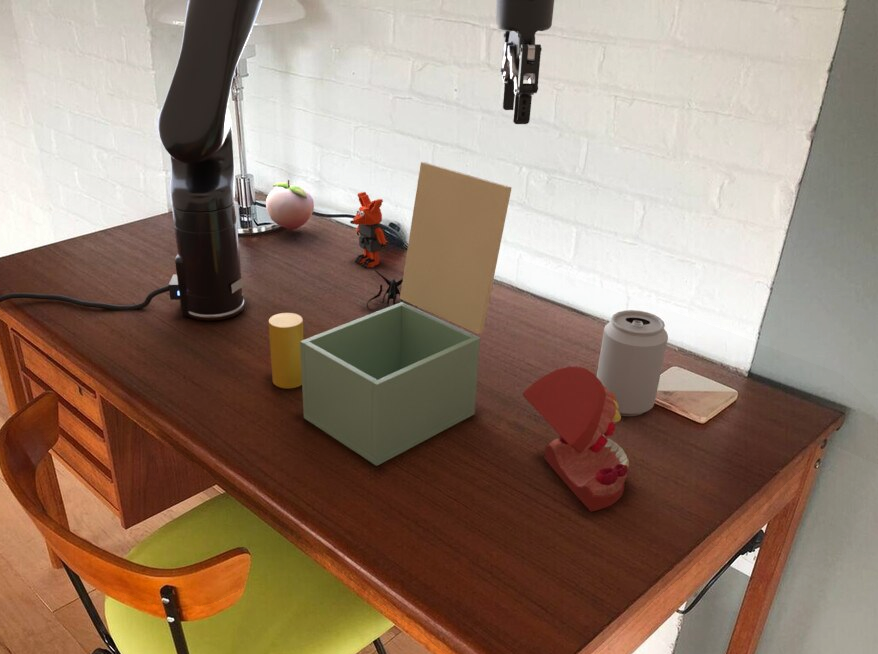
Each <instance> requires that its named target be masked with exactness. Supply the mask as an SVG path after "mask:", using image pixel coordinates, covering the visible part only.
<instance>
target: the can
mask: <svg viewBox="0 0 878 654" xmlns="http://www.w3.org/2000/svg"><path fill="white" fill-rule="evenodd" d="M610 320H611V321H609V322H607V323H606V324H605V327H603V333H602V339H601V345H600V353H599V357H598V358H599V359H598V366H597V372H596V377H597V378H598V379H599V380H600V381H601V382H602V384H603V386H605V387H606V388H607V390H608V391H610V392H611V393H613V395H614V396H615V399H616V402H617V404H618V406H619V408H618V412H619V413H620V416H621V417H637V416H641V415H643V414H644V413H646V412H648V411H650V410H652V409H653V408H654V406H655V402H656V399H657V394H658V389H659V383H660V380H661V379H660V378H661V374H662V368H663V364H664V361H665V355H666V350H667V345H668V339H669V334H668V332H667V331H666V329H665V325H666V324H665V321H664V320H663V319H662V318H661V317H660V316H658V315H656V314H654V313H650V312H648V311H644V310H643V311H642V310H634V309H630V310H629V309H628V310H621V311H618V312H616V313H613V314H612V316H611V318H610Z"/></svg>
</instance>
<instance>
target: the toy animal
mask: <svg viewBox="0 0 878 654" xmlns="http://www.w3.org/2000/svg"><path fill="white" fill-rule="evenodd" d="M357 198H358V201H359V204H360V207H359V208H358V209H356V214H355V217H353V218H352V220H350V221H349V223H350V224H351V225H356V226H357V227H356V228H355V232H356V234H357V236H358V246H359V247H360V248H362V249H363V253H362V254H358V255H357V257H355V258H356V259H354V263H356V264H358V265H359V264H361V267H363V268H374V267H375V266H377V265H379V264H380V257H379V252H381V251H382V250H383V248H384V247H385V246H386V244H387V239H386V237H385V234H384V225H383V224H382V221H383V214H382V210H381V207H382V205H383V202H384V200H383V198H378V199H374V200H371V198H370V196H369V194H367V193H366V191H361V192H358V193H357Z"/></svg>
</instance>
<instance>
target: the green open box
mask: <svg viewBox="0 0 878 654" xmlns="http://www.w3.org/2000/svg"><path fill="white" fill-rule="evenodd" d="M480 347H481V337H480V336H477V335H475V334H473V333H471V332H469V331H466V330H465V329H462V328H460V327H458V326H456V325H453V324H452V323H449V322H447V321H444V319H443V320H442V319H440V318H438V317H436V316H434V315H433V314H429V313H427V312H425V311H424V310H420V309H418V308H417V307H414V306H411V305H410V304H408V303H406V302H404V301H403V302H401V301H400V302H398V303H395V305H393V304H392V305H389V307H387V306H386V307H384V308H382V309H380V310H378V311H374V312H372V313H369V314H367V315H364V316H362V317H359V318H357V319H354V320H351V321H349V322H346V323H344V324H341V325H338V326H336V327H334V328H330V329H328V330H325V331H322V332H320V333H318V334H315V335H312V336H310V337H307V338H306V339H305V338H304V340H302V341H300V351H301V371H302V385H301V387H302V410H303V419H305V420H306V421H308V422H309V423H311V424H312V425H314V426H315V427H317V428H318V429H320V430H321V431H323V432H324V433H325V434H327V435H328V436H330V437H332V438H333V439H335V440H336V441H338V442H339V443H341V444H343V446H345V447H347V448H348V449H350V450H351V451H353V452H354V453H356V454H358V455H359V456H360V457H362V458H364V459H365V460H367V461H368V462H370V463H371V464H373V465H374V466H376V467H377V466H380V465H381V464H383V463H385V462H387V461H389V460H391V459H393V458H395V457H396V456H399V455H400V454H402V453H404V452H406V451H408V450H410V449H411V448H414V447H415V446H417V445H420V444H421V443H423V442H425V441H427V440H429V439H431V438H433V437H435V436H437V435H438V434H441V433H442V432H444V431H446V430H448V429H449V428H452V427H454V426H455V425H457V424H459V423H461V422H462V421H465V420H466V419H468V418H470V417H472V416H474V415H475V414H476V402H477V401H476V400H477V387H478V373H479V360H480Z"/></svg>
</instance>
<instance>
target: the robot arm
mask: <svg viewBox="0 0 878 654" xmlns="http://www.w3.org/2000/svg"><path fill="white" fill-rule="evenodd" d="M262 3H263V0H187V6H186V11H185V19H184V26H183V33H182V42H181V47H180V52H179V55H178V59H177V63H176V66H175V70H174V72H173V75H172V78H171V82H170V84H169V87H168V90H167V93H166V96H165V98H164V101H163V104H162V106H161V109H160V112H159V113H158V114H159V115H158V117H157V118H158V119H157V132H158V136H159V141H160V143H161V144H162V146H163V148H164V150H165V151H166V152H167V154H168V155H169V157H170V182H169V195H170V204H171V209H172V211H171V212H172V220H173V225H174V235H175V242H176V252H177V254H176V256H175V260H174V263H175V270H176V274H172V276H171V278H170V281H169V283H168V285H165V286H163V287H162V286H161V287H159V288H157V289H155V290H153V291H151V292H150V293H148V294H147V296H146V297H145V300H144V301H143V302H140V303H137V304H130V305H120V304H112V303H106V302H105V303H104V302H97V301H87V300H82V299H77V298H74V297H72V296H71V297H70V296H67V295H63V294H62V295H61V294H51V293H50V294H49V293H48V294H47V293H44V294H43V293H32V292H12V293H11V292H10V293H6V294H3V295H0V303H2V302H4V301H7V300H13V299H31V300H32V299H34V300H47V301H49V300H50V301H51V300H52V301H61V302H66V303H70V304H74V305H77V306H81V307H87V308H94V309H95V308H96V309H102V310H103V309H104V310H109V311H132V310H134V311H135V310H141V309H143V308H146V307H147V306H149V305H150V303H151V302H152V301H153V298H155V297H156V296H159V295H161V294H164V293H167V292H169V299H170V300H171V301H173V300H177V301H179V302H180V310H181V317H182V318H191V319H193V320H197V321H204V322H215V321H223V320H228V319H230V318H233V317H236V316H238V315H239V314H241V313H242V312H243V311H244V309H245V298H244V292H243V291H244V290H243V287H244V285H243V284H244V283H243V276H242V267H241V257H240V256H241V255H240V244H239V231H238V221H237V219H238V218H237V208H236V207H237V206H236V195H235V179H236V171H235V155H234V141H233V129H232V119H231V114H230V110H229V108H228V106H229V101H230V95H231V89H232V84H233V79H234V75H235V73H236V69H237V65H238V64H239V61H240V58H241V56H242V53H243V52H244V49H245V47H246V44H247V42H248V40H249V38H250V34H251V33H252V30H253V27H254V26H255V23H256V20H257V18H258V15H259V11H260V9H261V6H262ZM554 7H555V0H496V2H495V18H494V26H495V27H496V29H498V30H501V31H504V33H503V45H502V55H501V56H502V58H501V67H500V74H501V75H502V76H501V80H502V82H503V89H502V104H501V107H502V109H503V110H504V111H512V112H513V113H512V123H514V124H515V125H528V124H529V123H530V121H531V111H532V110H531V109H532V99H533V96H534V95H535V94H537V93H538V91H539V78H540V67H541V66H540V65H541V55H542V53H541V52H542V50H543V48H542V45H541V44H538V43H537V44H536V33H537V32H544V31H548V30H550V29H551V28H552V25H553V17H554ZM524 81H528V83H527V82H526V83H524Z"/></svg>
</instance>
